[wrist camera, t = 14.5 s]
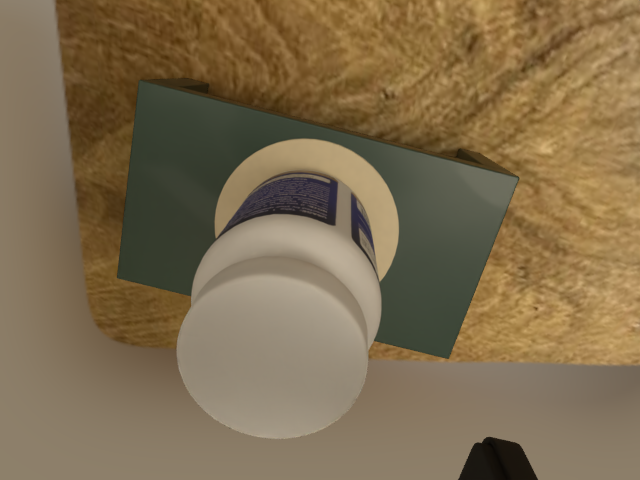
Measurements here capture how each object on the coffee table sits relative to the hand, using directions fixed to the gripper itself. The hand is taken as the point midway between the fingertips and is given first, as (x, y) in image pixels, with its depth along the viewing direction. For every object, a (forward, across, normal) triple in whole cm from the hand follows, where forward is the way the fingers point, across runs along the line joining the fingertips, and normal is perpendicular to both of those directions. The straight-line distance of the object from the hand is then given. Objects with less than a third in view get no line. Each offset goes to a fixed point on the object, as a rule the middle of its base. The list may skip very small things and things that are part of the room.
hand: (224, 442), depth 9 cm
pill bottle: (+13, -1, 0) cm, 13 cm away
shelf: (+19, -1, 0) cm, 19 cm away
